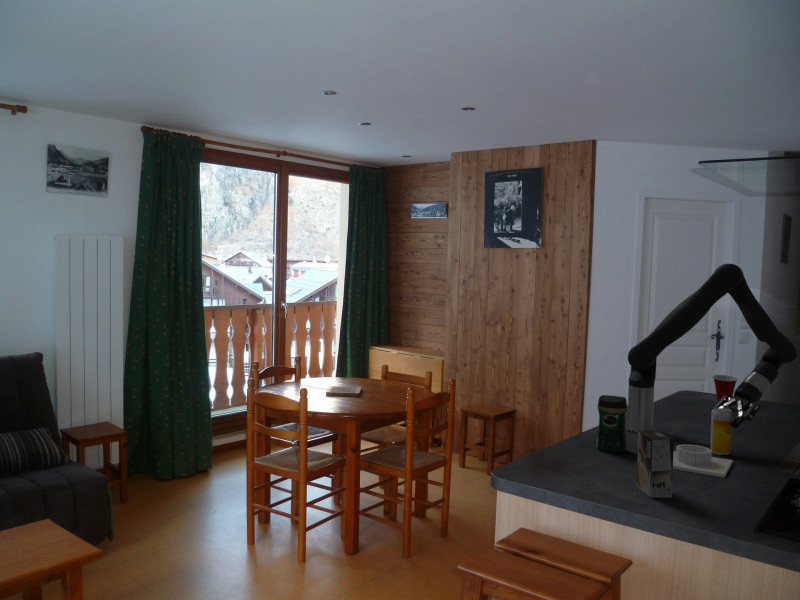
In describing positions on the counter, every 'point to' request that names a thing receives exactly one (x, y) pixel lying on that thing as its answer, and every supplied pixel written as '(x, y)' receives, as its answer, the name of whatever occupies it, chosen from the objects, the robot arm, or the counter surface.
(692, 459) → the base
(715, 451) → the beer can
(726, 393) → the plastic cup
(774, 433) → the counter surface
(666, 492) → the coffee box
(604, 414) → the coffee jar
